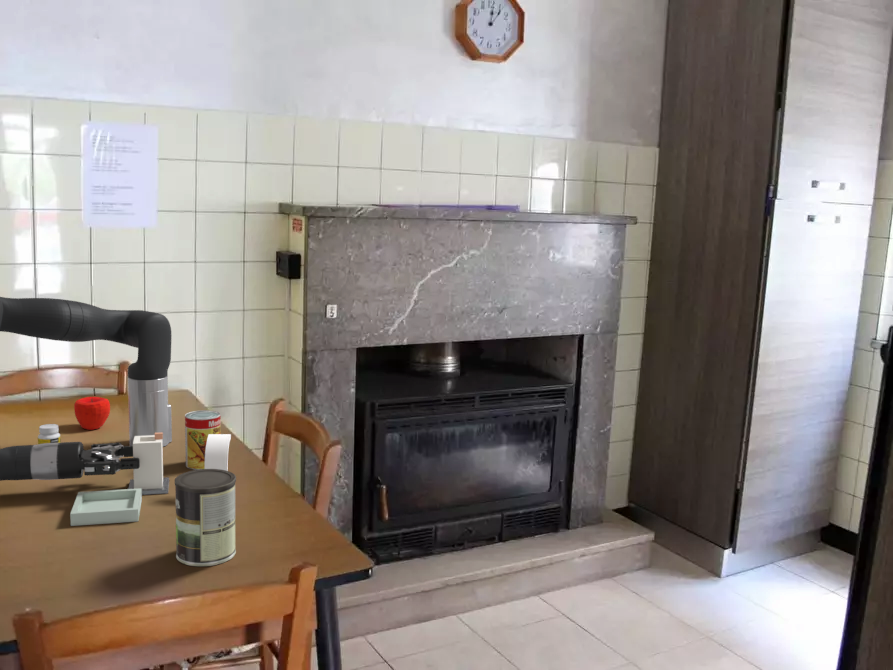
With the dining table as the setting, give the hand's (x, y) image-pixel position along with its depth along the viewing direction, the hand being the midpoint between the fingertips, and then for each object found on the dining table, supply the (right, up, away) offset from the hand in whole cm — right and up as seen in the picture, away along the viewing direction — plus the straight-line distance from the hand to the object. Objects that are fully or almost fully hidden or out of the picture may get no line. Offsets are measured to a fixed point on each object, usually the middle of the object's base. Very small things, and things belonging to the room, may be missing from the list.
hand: (140, 456), depth 182 cm
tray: (-2, -9, -12) cm, 16 cm away
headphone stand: (+16, -8, 0) cm, 18 cm away
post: (+1, -7, +2) cm, 7 cm away
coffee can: (+22, -13, -30) cm, 40 cm away
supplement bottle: (-27, -4, +17) cm, 32 cm away
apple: (-28, +1, +45) cm, 53 cm away
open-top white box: (+1, -6, +1) cm, 6 cm away
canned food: (+8, -5, +18) cm, 20 cm away
